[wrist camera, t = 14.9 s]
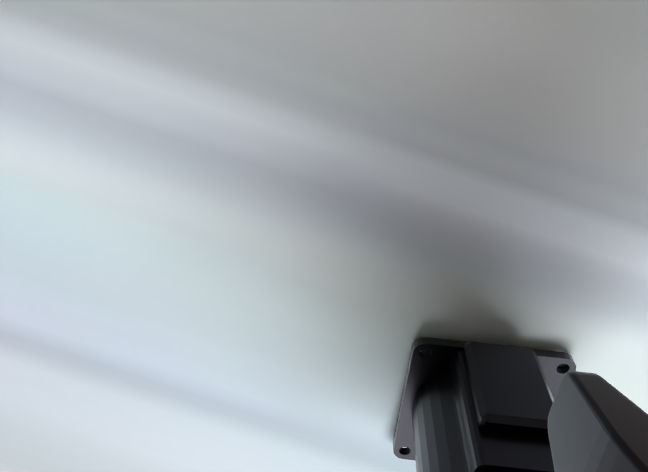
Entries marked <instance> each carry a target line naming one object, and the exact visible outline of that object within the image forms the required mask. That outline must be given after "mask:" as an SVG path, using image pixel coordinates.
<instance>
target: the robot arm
mask: <svg viewBox="0 0 648 472" xmlns="http://www.w3.org/2000/svg"><path fill="white" fill-rule="evenodd" d="M426 348H427V349H429V351H428V352H421V351H420V350H422V349H426ZM560 364H565V365H564V366H562V367H558V365H560ZM402 447H407V448H402ZM393 449H394V454H395V455H396V456H397V457H398V458H402V459H408V460H416V469H417V472H648V414H647V413H645V412H644V411H643V410H642V409H640V408H639V407H638V406H637V405H635V404H634V403H633V402H632V401H630V400H629V399H628V398H627V397H626V396H624V395H623V394H622V393H621V392H619V391H618V390H617V389H616V388H614V387H613V386H612V385H611V384H609V383H608V382H607V381H606V380H604V379H603V378H602V377H600V376H599V375H597V374H594V373H585V372H576V365H575V363H574V361H573V359H572V356H570V355H569V354H567V353H564V352H555V351H546V350H537V349H530V348H524V347H514V346H505V345H496V344H487V343H478V342H464V341H454V340H445V339H436V338H427V337H426V338H420V339H417V340H416V341H415V342H414V343H413V345H412V350H411V355H410V360H409V365H408V370H407V375H406V380H405V385H404V390H403V396H402V401H401V406H400V411H399V416H398V421H397V426H396V431H395V436H394V441H393Z"/></svg>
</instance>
